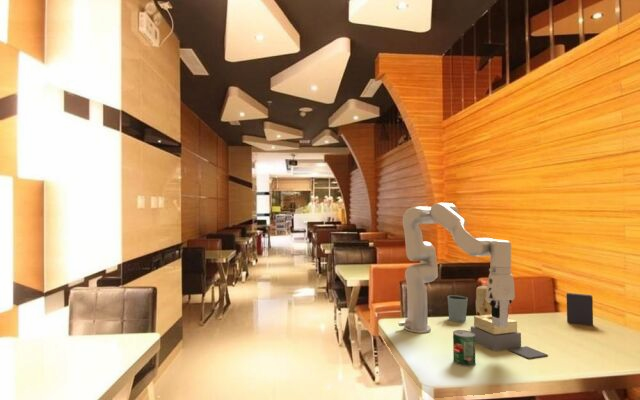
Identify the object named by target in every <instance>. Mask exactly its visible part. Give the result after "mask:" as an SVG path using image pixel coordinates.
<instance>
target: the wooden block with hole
mask: <svg viewBox="0 0 640 400" xmlns="http://www.w3.org/2000/svg"><path fill="white" fill-rule="evenodd" d="M473 326H475V327H477V328H479V329H482V330H484V331H487V332H489V333H492V334H494V335H495V334H504V333H512V332H518V321H517V320H514V319H511V318H509V317H508V326H505V327H498V326H496V325H493V324H492V314H491V315H481V316H477V315H475V316H473Z"/></svg>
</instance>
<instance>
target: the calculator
mask: <svg viewBox="0 0 640 400" xmlns="http://www.w3.org/2000/svg"><path fill="white" fill-rule="evenodd" d="M593 302H594V301H593V295H591V294H583V293H574V292H573V293H571V292H566V321H567V323H568V324H574V325H575V324H576V325H584V326H591V327H593V326H594V310H593V309H594V307H593V306H594V305H593V304H594V303H593Z"/></svg>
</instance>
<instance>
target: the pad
mask: <svg viewBox="0 0 640 400" xmlns="http://www.w3.org/2000/svg"><path fill="white" fill-rule="evenodd" d="M507 350H508V351H509V352H511V353H514V354H516V355H518V356H520V357H522V358H524V359H527V360H532V359H539V358H545V357H548V356H549V355H548V354H547V353H544V352H542V351H540V350H537V349H535V348H531V347H529V346H527V345H526V346H525V345H524V346H521V347H518V348H510V349H507Z"/></svg>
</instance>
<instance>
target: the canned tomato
mask: <svg viewBox="0 0 640 400" xmlns="http://www.w3.org/2000/svg"><path fill="white" fill-rule="evenodd" d="M452 333H453V335H452V343H453V344H452V348H453V350H452V351H453V353H452V354H453V360H452V361H453V363H455V365H458V366H461V367H466V368H467V367H469V368H471V367H475V366H476V365H477V364H476V342H475V334H474V333H473V332H471V330H465V329H456V330H453V332H452Z"/></svg>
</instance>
